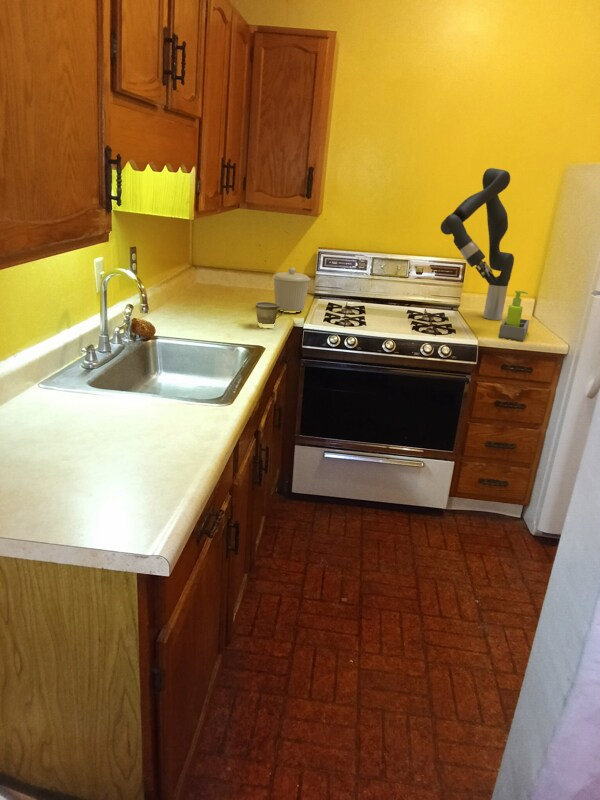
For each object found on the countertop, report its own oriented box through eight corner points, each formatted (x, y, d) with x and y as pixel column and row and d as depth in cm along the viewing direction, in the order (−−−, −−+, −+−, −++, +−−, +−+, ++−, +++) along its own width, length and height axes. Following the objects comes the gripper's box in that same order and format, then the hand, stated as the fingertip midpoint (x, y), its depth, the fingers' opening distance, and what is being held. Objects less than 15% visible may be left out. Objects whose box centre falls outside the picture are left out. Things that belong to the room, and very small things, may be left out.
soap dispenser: (520, 337, 276) (529, 293, 269) (504, 335, 278) (512, 291, 271) (518, 334, 282) (527, 290, 275) (503, 332, 283) (511, 289, 276)
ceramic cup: (250, 327, 264) (251, 304, 261) (260, 323, 273) (261, 300, 269) (278, 332, 260) (279, 308, 256) (287, 327, 269) (288, 304, 265)
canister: (301, 307, 310) (304, 265, 303) (313, 315, 294) (316, 271, 287) (266, 307, 305) (268, 264, 297) (276, 315, 289) (279, 270, 281)
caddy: (504, 329, 295) (506, 316, 293) (527, 332, 291) (529, 320, 289) (498, 337, 277) (500, 324, 275) (522, 341, 273) (525, 328, 271)
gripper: (476, 249, 269) (498, 279, 269) (481, 247, 281) (503, 275, 281) (462, 260, 273) (484, 290, 272) (468, 257, 285) (489, 285, 285)
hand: (494, 282), depth 277 cm, fingers open, 8 cm apart
